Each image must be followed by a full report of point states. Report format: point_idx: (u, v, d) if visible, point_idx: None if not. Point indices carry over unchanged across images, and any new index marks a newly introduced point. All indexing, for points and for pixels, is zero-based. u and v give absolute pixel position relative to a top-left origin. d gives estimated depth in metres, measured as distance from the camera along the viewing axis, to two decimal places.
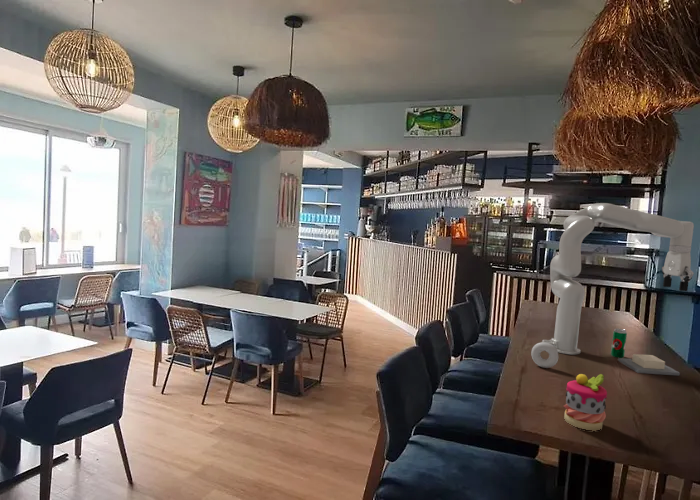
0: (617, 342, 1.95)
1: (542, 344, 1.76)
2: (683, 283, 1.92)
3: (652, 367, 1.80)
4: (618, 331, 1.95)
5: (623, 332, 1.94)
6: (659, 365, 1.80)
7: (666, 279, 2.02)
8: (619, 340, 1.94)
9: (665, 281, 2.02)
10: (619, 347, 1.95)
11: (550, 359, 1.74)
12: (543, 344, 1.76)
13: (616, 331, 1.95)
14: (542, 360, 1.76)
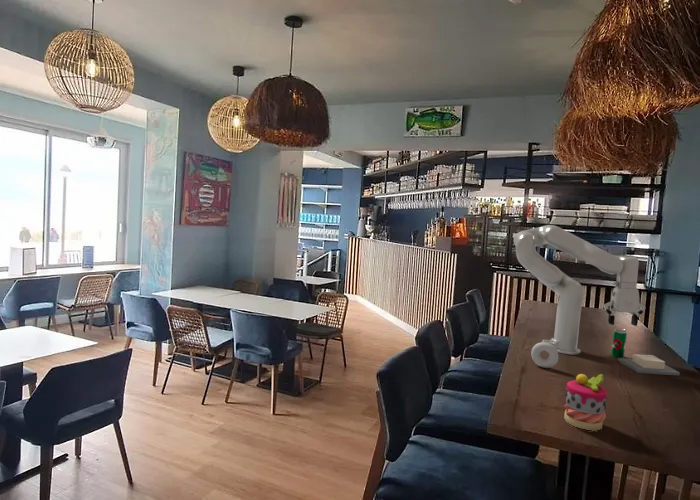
0: (617, 342, 1.95)
1: (542, 344, 1.76)
2: None
3: (652, 367, 1.80)
4: (618, 331, 1.95)
5: (623, 332, 1.94)
6: (659, 365, 1.80)
7: None
8: (619, 340, 1.94)
9: None
10: (619, 347, 1.94)
11: (550, 359, 1.74)
12: (543, 344, 1.76)
13: (616, 331, 1.95)
14: (542, 360, 1.76)
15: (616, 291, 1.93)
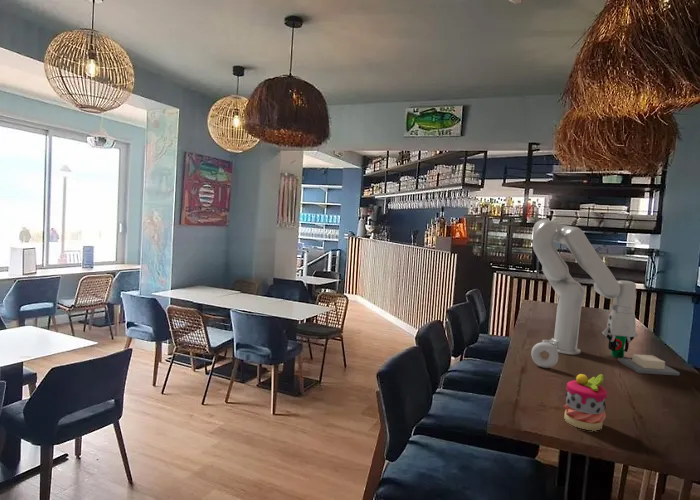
0: (617, 342, 1.95)
1: (542, 344, 1.76)
2: (628, 344, 1.96)
3: (652, 367, 1.80)
4: None
5: None
6: (659, 365, 1.80)
7: None
8: (619, 340, 1.94)
9: None
10: (619, 347, 1.94)
11: (550, 359, 1.74)
12: (543, 344, 1.76)
13: None
14: (542, 360, 1.76)
15: (613, 315, 1.94)
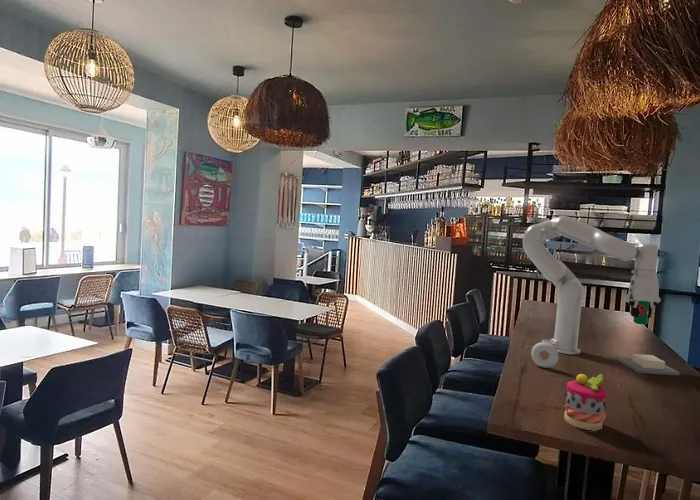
0: (640, 307, 1.86)
1: (542, 344, 1.76)
2: None
3: (652, 367, 1.80)
4: None
5: None
6: (659, 365, 1.80)
7: None
8: (642, 306, 1.85)
9: None
10: (642, 313, 1.85)
11: (550, 359, 1.74)
12: (543, 344, 1.76)
13: None
14: (542, 360, 1.76)
15: (635, 279, 1.85)
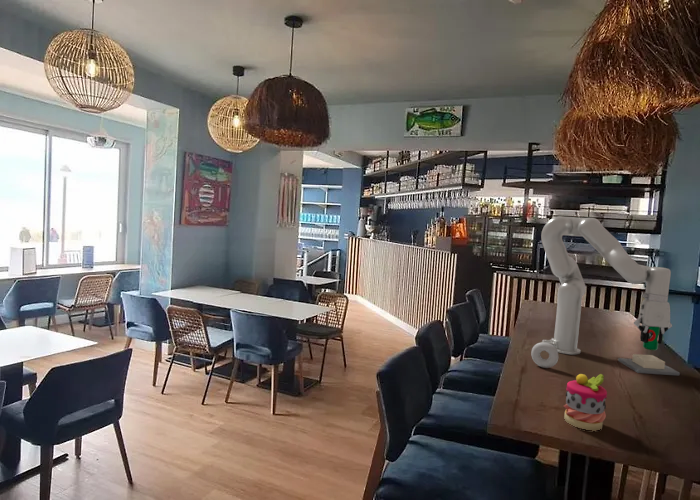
0: (650, 333, 1.81)
1: (542, 344, 1.76)
2: None
3: (652, 367, 1.80)
4: None
5: None
6: (659, 365, 1.80)
7: None
8: (652, 331, 1.81)
9: None
10: (652, 338, 1.81)
11: (550, 359, 1.74)
12: (543, 344, 1.76)
13: None
14: (542, 360, 1.76)
15: (645, 304, 1.80)
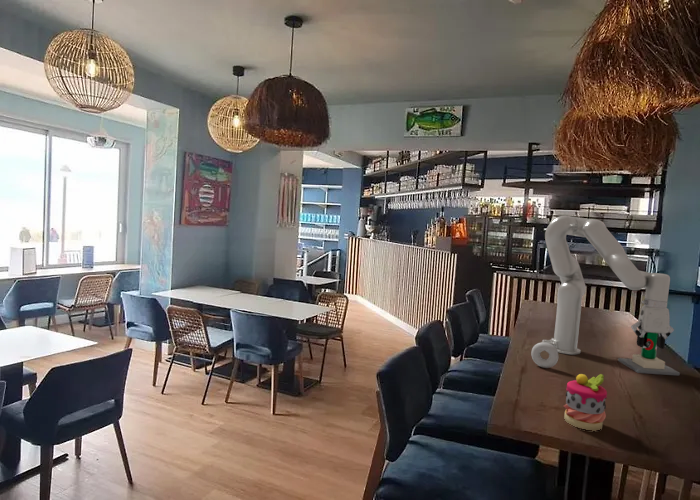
0: (648, 342, 1.82)
1: (542, 344, 1.76)
2: None
3: (652, 367, 1.80)
4: None
5: None
6: (659, 365, 1.80)
7: None
8: (650, 340, 1.81)
9: None
10: (650, 347, 1.81)
11: (550, 359, 1.74)
12: (543, 344, 1.76)
13: None
14: (542, 360, 1.76)
15: (645, 310, 1.81)
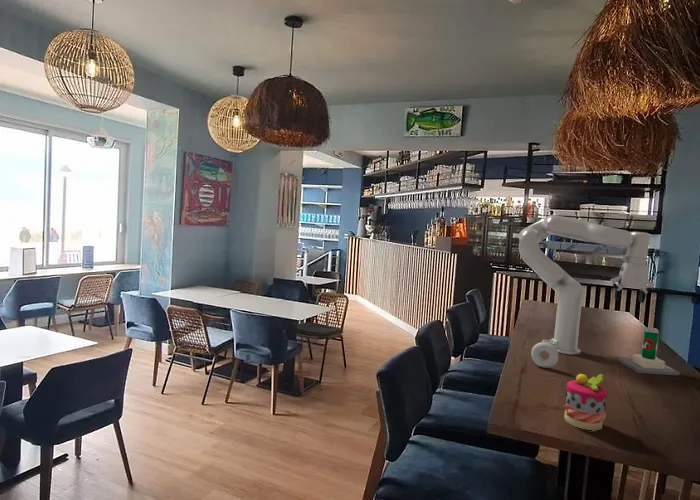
0: (648, 342, 1.81)
1: (542, 344, 1.76)
2: None
3: (652, 367, 1.80)
4: (650, 330, 1.81)
5: (655, 331, 1.81)
6: (659, 365, 1.80)
7: None
8: (650, 340, 1.81)
9: None
10: (650, 347, 1.81)
11: (550, 359, 1.74)
12: (543, 344, 1.76)
13: (647, 330, 1.82)
14: (542, 360, 1.76)
15: (624, 266, 1.91)
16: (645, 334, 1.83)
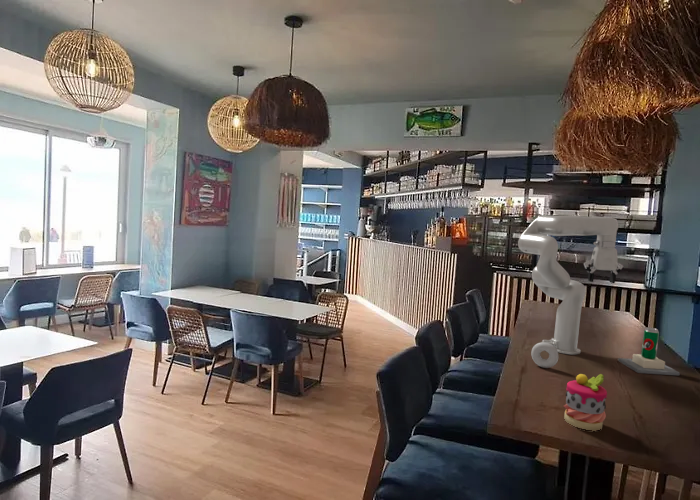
0: (648, 342, 1.81)
1: (542, 344, 1.76)
2: (615, 276, 2.07)
3: (652, 367, 1.80)
4: (650, 330, 1.81)
5: (655, 331, 1.81)
6: (659, 365, 1.80)
7: None
8: (650, 340, 1.81)
9: None
10: (650, 347, 1.81)
11: (550, 359, 1.74)
12: (543, 344, 1.76)
13: (647, 330, 1.82)
14: (542, 360, 1.76)
15: (596, 250, 2.06)
16: (645, 334, 1.83)
